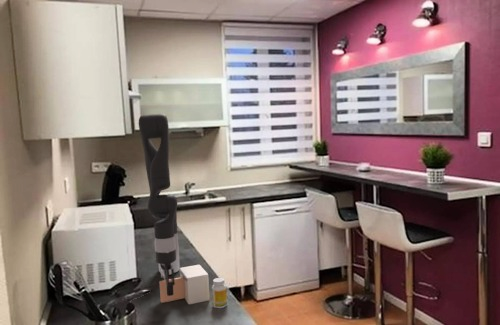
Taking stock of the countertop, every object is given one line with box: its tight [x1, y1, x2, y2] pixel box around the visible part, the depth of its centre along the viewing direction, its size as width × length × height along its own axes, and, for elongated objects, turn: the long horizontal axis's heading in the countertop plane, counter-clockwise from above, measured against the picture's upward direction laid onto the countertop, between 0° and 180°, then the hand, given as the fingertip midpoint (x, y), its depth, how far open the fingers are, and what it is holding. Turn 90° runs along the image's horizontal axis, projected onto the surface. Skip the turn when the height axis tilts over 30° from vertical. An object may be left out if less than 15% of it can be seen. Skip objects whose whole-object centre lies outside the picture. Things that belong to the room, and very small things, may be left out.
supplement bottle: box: [211, 277, 228, 309], centre depth 153 cm, size 5×5×10 cm
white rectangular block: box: [178, 264, 211, 305], centre depth 162 cm, size 12×8×10 cm
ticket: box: [159, 276, 185, 303], centre depth 160 cm, size 1×14×8 cm, turn 113°
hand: (168, 291), depth 158 cm, fingers open, 8 cm apart
